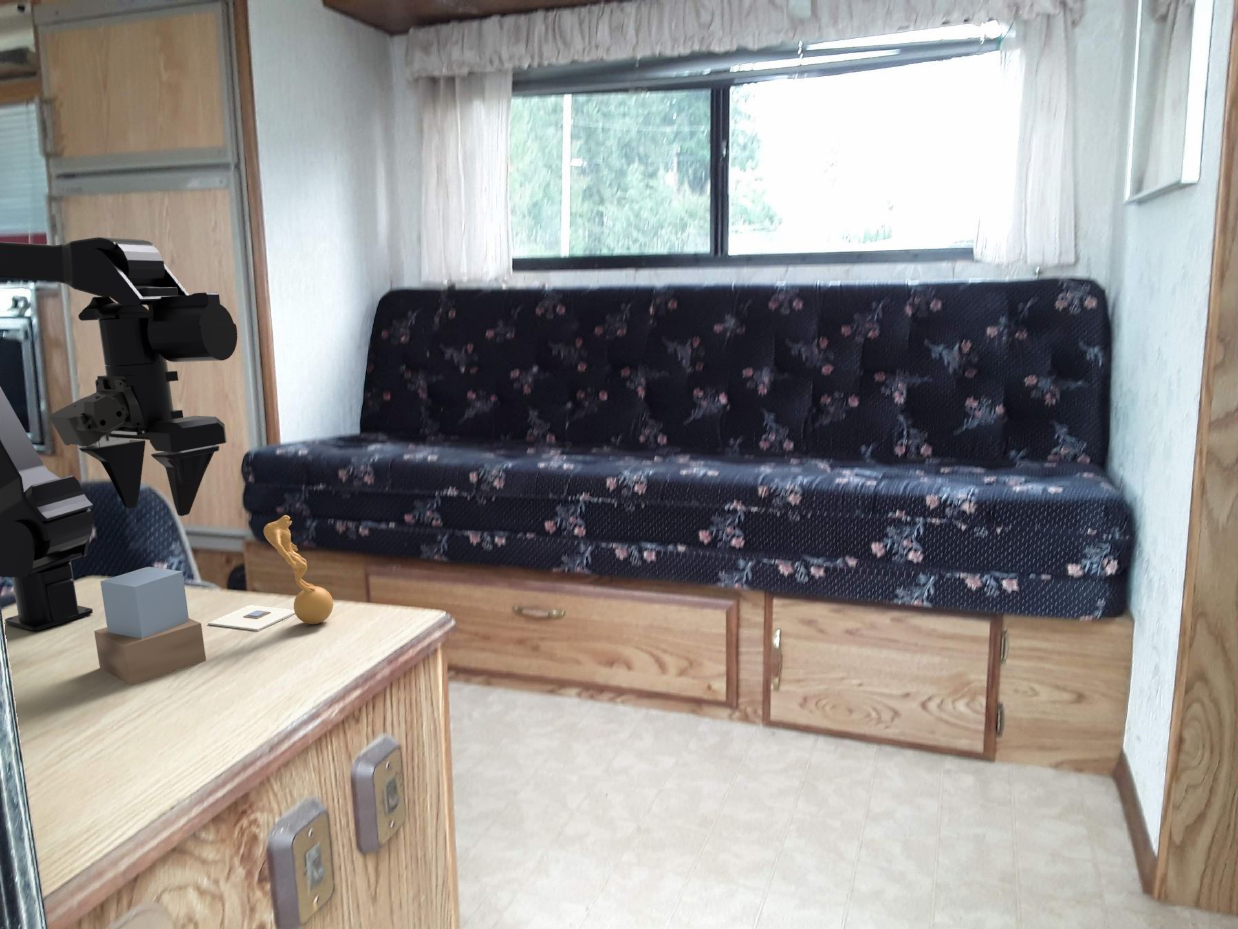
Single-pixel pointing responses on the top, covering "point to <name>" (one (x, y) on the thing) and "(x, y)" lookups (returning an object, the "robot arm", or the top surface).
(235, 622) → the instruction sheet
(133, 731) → the top surface
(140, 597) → the blue brick
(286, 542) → the figurine
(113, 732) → the top surface
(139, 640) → the base brick
